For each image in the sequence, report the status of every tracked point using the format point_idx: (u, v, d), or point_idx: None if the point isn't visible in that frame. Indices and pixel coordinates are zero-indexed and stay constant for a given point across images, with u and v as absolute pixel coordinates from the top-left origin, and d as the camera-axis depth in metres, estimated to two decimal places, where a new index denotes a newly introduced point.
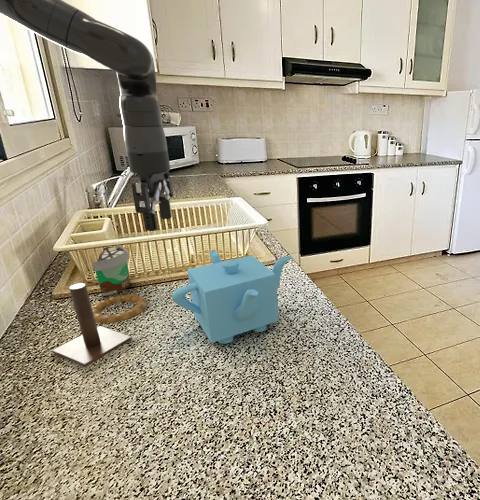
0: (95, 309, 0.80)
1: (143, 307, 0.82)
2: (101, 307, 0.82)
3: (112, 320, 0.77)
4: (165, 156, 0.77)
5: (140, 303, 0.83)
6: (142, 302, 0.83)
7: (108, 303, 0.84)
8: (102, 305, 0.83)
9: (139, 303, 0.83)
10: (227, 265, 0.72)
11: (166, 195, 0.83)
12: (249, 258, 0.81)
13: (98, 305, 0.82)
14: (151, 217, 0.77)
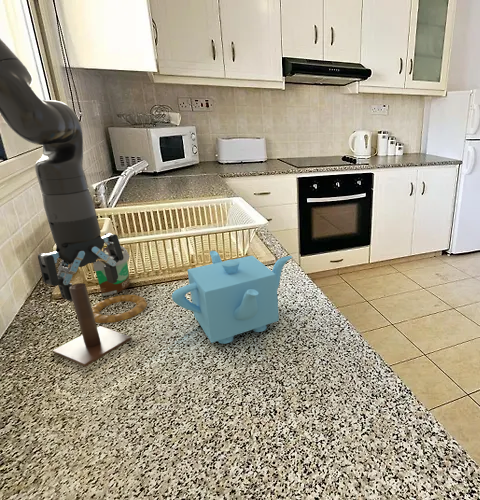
0: (95, 309, 0.80)
1: (143, 307, 0.82)
2: (101, 307, 0.82)
3: (112, 320, 0.77)
4: (83, 225, 0.69)
5: (140, 303, 0.83)
6: (142, 302, 0.83)
7: (108, 303, 0.84)
8: (102, 305, 0.83)
9: (139, 303, 0.83)
10: (227, 265, 0.73)
11: (104, 260, 0.76)
12: (249, 258, 0.81)
13: (98, 305, 0.82)
14: (65, 288, 0.70)
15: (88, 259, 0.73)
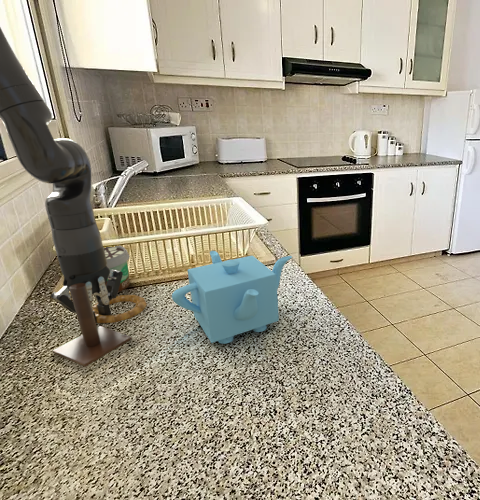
0: (95, 309, 0.80)
1: (143, 307, 0.82)
2: None
3: (112, 320, 0.77)
4: (90, 257, 0.71)
5: (140, 303, 0.83)
6: (142, 302, 0.83)
7: None
8: None
9: (139, 303, 0.83)
10: (227, 265, 0.73)
11: (101, 295, 0.77)
12: (249, 258, 0.81)
13: None
14: None
15: (94, 289, 0.75)
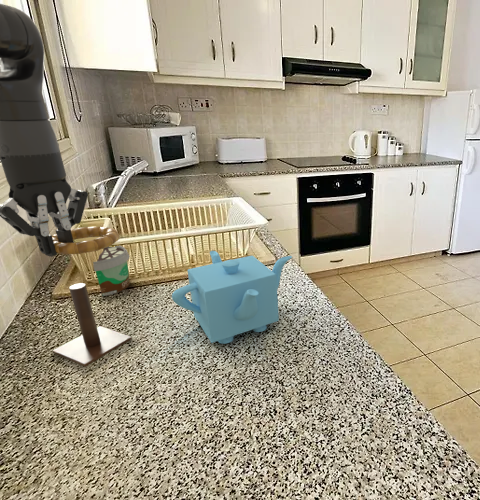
0: (54, 238, 0.66)
1: (114, 237, 0.68)
2: None
3: (74, 247, 0.63)
4: (42, 161, 0.57)
5: (110, 233, 0.69)
6: (113, 232, 0.69)
7: None
8: None
9: (109, 233, 0.69)
10: (227, 265, 0.73)
11: (60, 216, 0.63)
12: (249, 258, 0.81)
13: None
14: (44, 240, 0.62)
15: (51, 207, 0.61)
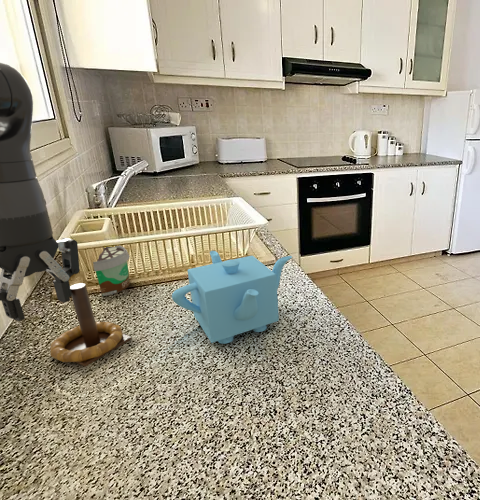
0: (59, 342, 0.67)
1: (117, 338, 0.69)
2: (67, 338, 0.69)
3: (78, 356, 0.64)
4: (26, 223, 0.54)
5: (114, 333, 0.69)
6: (116, 332, 0.70)
7: (76, 333, 0.70)
8: (69, 336, 0.69)
9: (113, 333, 0.69)
10: (227, 265, 0.73)
11: (53, 272, 0.60)
12: (249, 258, 0.81)
13: (63, 336, 0.68)
14: (10, 305, 0.56)
15: (35, 267, 0.58)
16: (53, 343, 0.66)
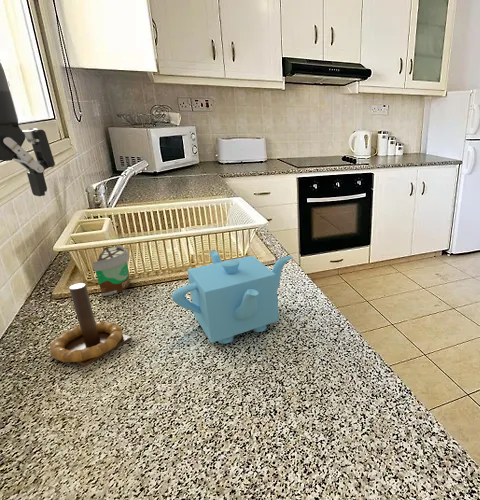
0: (59, 342, 0.67)
1: (117, 338, 0.69)
2: (67, 338, 0.69)
3: (78, 356, 0.64)
4: None
5: (114, 333, 0.69)
6: (116, 332, 0.70)
7: (76, 333, 0.70)
8: (69, 336, 0.69)
9: (113, 333, 0.69)
10: (227, 265, 0.73)
11: (24, 161, 0.58)
12: (249, 258, 0.81)
13: (63, 336, 0.68)
14: None
15: None
16: (53, 343, 0.66)
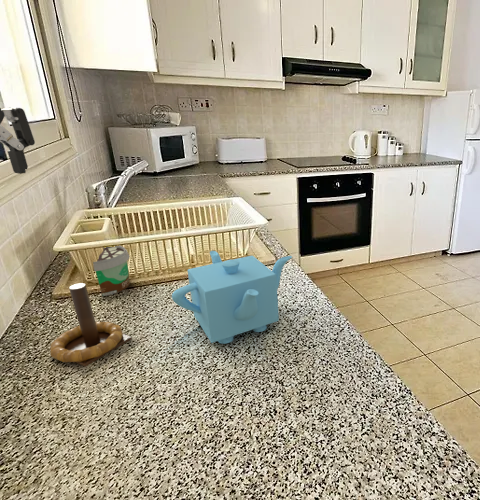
0: (59, 342, 0.67)
1: (117, 338, 0.69)
2: (67, 338, 0.69)
3: (78, 356, 0.64)
4: None
5: (114, 333, 0.69)
6: (116, 332, 0.70)
7: (76, 333, 0.70)
8: (69, 336, 0.69)
9: (113, 333, 0.69)
10: (227, 265, 0.73)
11: (4, 138, 0.60)
12: (249, 258, 0.81)
13: (63, 336, 0.68)
14: None
15: None
16: (53, 343, 0.66)
